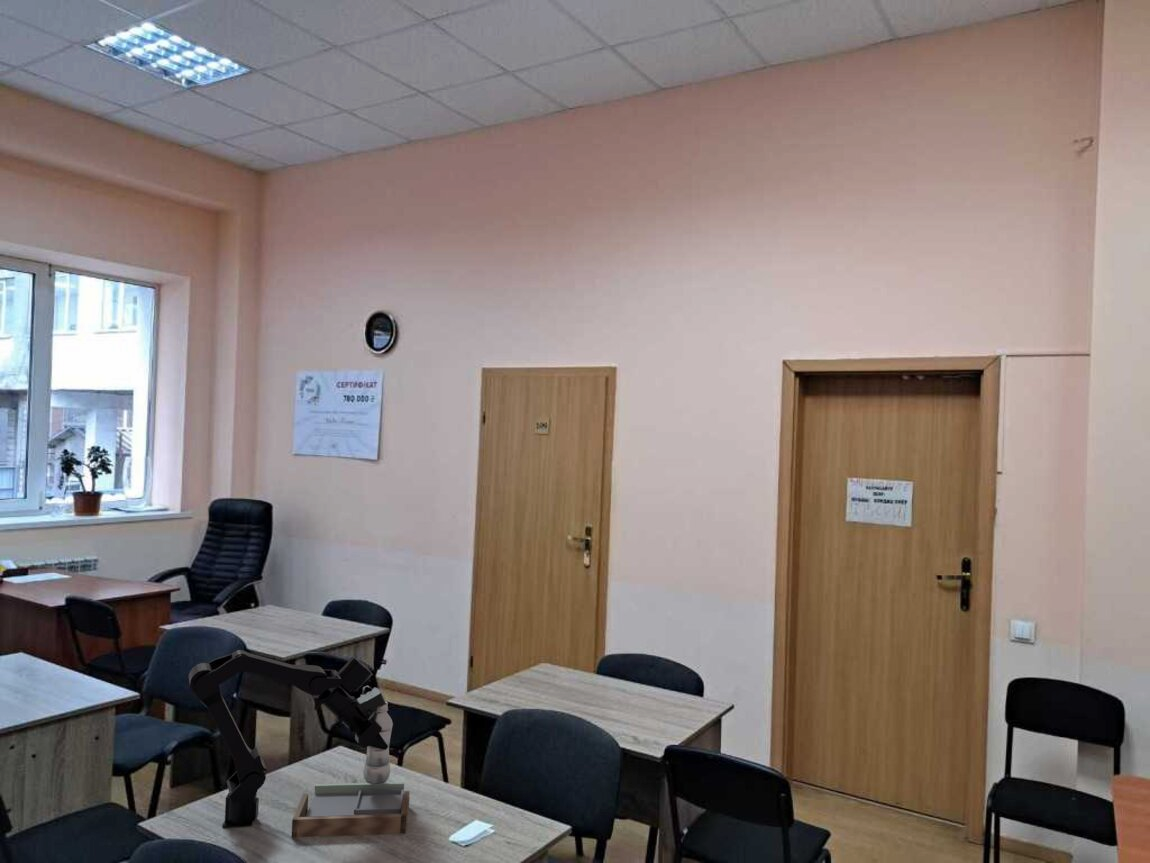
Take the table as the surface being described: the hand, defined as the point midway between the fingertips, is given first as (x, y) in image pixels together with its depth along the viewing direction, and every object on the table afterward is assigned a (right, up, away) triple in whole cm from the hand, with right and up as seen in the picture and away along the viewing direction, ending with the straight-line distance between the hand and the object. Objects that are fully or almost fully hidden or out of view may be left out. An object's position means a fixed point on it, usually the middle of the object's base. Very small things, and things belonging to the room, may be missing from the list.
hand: (383, 743), depth 204 cm
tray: (-5, -13, -7) cm, 16 cm away
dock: (-4, -13, -14) cm, 20 cm away
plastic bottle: (-2, -10, -1) cm, 10 cm away
